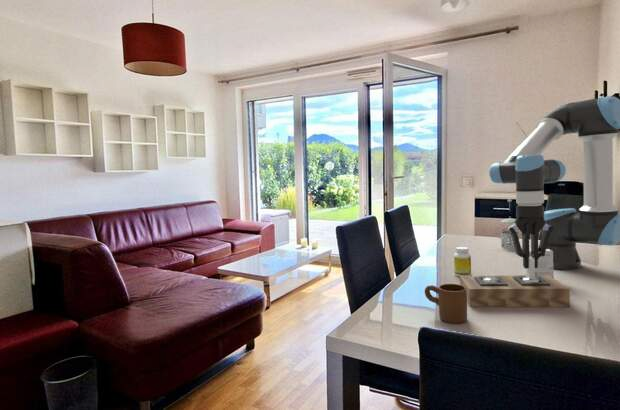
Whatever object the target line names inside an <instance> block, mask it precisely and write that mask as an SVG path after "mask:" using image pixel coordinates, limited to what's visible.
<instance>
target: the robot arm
mask: <svg viewBox="0 0 620 410" xmlns="http://www.w3.org/2000/svg"><path fill="white" fill-rule="evenodd" d="M619 130H620V98H618V97H616V96H603V97H598V98H597V97H596V98H591V99H587V100H586V99H585V100H582V101H575V102H568V103H565V104H562V105H560V106H558V107H556V108H555V109H553V110H552V111H550V112H549V113H548V114H546V115H545V116H543V117H542V118H540V120H539V121H538V122H537V124H536V127H535V129H534V130H533V131H532V133H530V134H529V135H528V136H527V137H526V139H524V140H523V141H522V143H520V145H519V146H517V148H516V149H515V150H514V151H513V152H511V154H510V155H509V156H508V157H507V158H506V159H505V160H504V161H503V162H502V161H499V162H494V163H492V164H491V166H490V168H489V171H488V172H489V173H488V175H489V178H490V180H491V182H493V183H494V184H503V185H505V184H515V200H516V201H515V202H516V204H517V205H516V206H515V217H516V218H515V220H516V221H515V223H513V224H512V225H509V226H506V228H507V229H508V231H509V232H510V233H511V237H512V240H513V241H512V242H513V244H514V247H515V251H514V252H515V254H516V255H517V256H519V257H521V258H522V265H523V269H524V268H526V277H527V278H529V279H535V268H537V267H538V259H539V257H541V256H544V255H545V252H546V249H550V250H551V251H553V270H554V269H555V270H577V269H580V268H581V267H582V260H581V258H580V255H579V252H578V249H577V245H576V244H577V243H583V244H590V245H598V246H611V247H613V246H616V245H617V244H618V243H619V242H620V213H619V209H618V208H617V207H616V205H614V203H613V202H614V200H613V198H614V197H613V196H614V195H613V194H614V190H613V188H614V187H613V186H614V182H613V181H614V178H613V176H614V175H613V173H614V169H613V167H614V166H613V165H614V164H613V162H614V158H613V157H614V156H613V155H614V151H613V149H614V145H613V144H614V141H613V140H614V139H615V137H617V136H618V135H619ZM569 134H577V136H578V139H579V140H580V141H582V142H583V143H582V144H583V147H582V149H583V151H582V152H583V153H582V155H583V158H582V159H583V163H582V165H583V205H582V206H581V207H580V208H579V209H578V212H577V210H576V208H571V207H570V208H558V209H549V210H545V206H544V205H543V204H544V203H545V194H544V193H545V192H544V191H545V190H544V189H545V185H544V184H554V183H556V182H559V181H561V180H562V179H563V178H564V177H565V175H566V171H567V170H566V165H565V164H564V163H563V162H562V161H561V160H558V159H553V158H551V159H544V155H542V154H543V152H544V151H545V150H547V148H548V147H549V146H550V145H551V144H552V143H553V142H555V141H556V140H559V139H560V138H561V137H563V136H564V135H565V136H566V135H569ZM517 229H518V231H520V232H521V238H522V239H521V240H522V241H521V242H520V237H519V238H518V235H517V233H516V232H518V231H517ZM540 232H541V237H540V236H539V235H540ZM539 237H540V241H539ZM521 243H522V244H521ZM521 245H522V246H521ZM529 249H531V256H532V257H529Z"/></svg>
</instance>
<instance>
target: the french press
mask: <svg viewBox="0 0 620 410" xmlns="http://www.w3.org/2000/svg"><path fill="white" fill-rule="evenodd" d="M512 201H513V200H512V199H511V198H508V199H507V202H508V204H509V206H508V207H509V210H511V202H512ZM515 221H516V218H512V217H509V218H505V219H502V220H500V222H501V224H499V225H498V226H497V227H496V229H495V235H496V237H497V238H498V239H500V241H501V246H499V249H500V250H502V251H507V252H509V251H511V252H512V251H513V252H516V251H515V247H514V244H513V240H512V237H511V233H510V232H509V231H508V229H507V227H506V228H504V224H509V225H511V224H512V225H513V224H515ZM500 228H502V229H501V230H502V231H501V233H500V234H501V237H500V236H499V229H500ZM516 233H517V235H518V238H519V239H520V232H519V229H518V228H517V231H516Z"/></svg>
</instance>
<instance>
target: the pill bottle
mask: <svg viewBox="0 0 620 410" xmlns="http://www.w3.org/2000/svg"><path fill="white" fill-rule="evenodd" d="M471 256H472V255H471V253H469V247H466V246H457V247H456V248H455V253H454V254H453V264H454V265H453V268H454V275H455V276H456V277H459V278H460V276H472V257H471Z"/></svg>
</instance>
